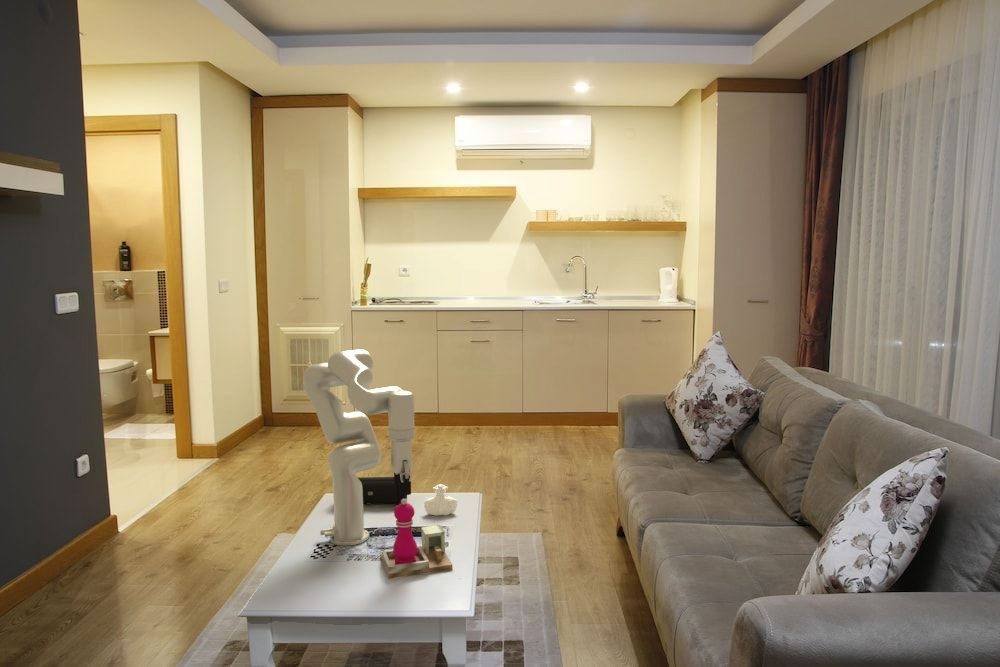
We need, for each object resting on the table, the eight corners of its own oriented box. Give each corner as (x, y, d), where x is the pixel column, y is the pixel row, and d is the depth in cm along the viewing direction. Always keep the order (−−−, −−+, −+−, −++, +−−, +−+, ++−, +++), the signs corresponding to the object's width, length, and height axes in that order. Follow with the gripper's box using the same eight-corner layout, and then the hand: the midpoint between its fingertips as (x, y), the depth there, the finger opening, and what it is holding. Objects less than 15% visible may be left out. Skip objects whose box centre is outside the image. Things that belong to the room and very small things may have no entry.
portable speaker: (336, 508, 265) (335, 482, 264) (341, 499, 275) (340, 474, 274) (405, 507, 266) (404, 481, 265) (408, 498, 276) (407, 473, 274)
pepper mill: (397, 570, 208) (396, 504, 206) (390, 561, 215) (388, 497, 212) (421, 565, 212) (419, 500, 209) (412, 556, 218) (411, 493, 216)
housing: (425, 554, 219) (425, 534, 219) (421, 546, 225) (421, 527, 224) (444, 551, 221) (444, 531, 220) (440, 544, 227) (440, 524, 226)
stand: (388, 578, 207) (388, 564, 206) (380, 556, 222) (380, 543, 221) (452, 569, 212) (452, 554, 212) (440, 548, 227) (439, 535, 227)
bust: (457, 518, 260) (456, 488, 266) (457, 511, 253) (456, 481, 259) (424, 519, 259) (424, 489, 265) (423, 512, 252) (423, 482, 258)
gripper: (384, 426, 217) (385, 481, 219) (393, 442, 200) (394, 500, 202) (408, 425, 219) (409, 479, 221) (420, 439, 203) (420, 497, 205)
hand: (402, 489), depth 212 cm, fingers open, 9 cm apart
